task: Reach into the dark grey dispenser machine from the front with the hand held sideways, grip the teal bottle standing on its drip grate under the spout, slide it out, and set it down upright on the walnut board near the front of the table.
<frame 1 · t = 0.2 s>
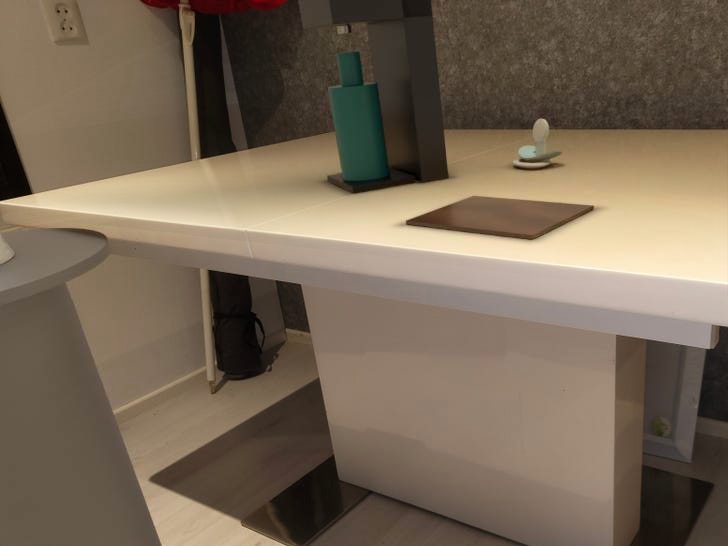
machine: (367, 182, 96), on the table
bottle: (366, 176, 95), point 1 cm above the table, touching machine
pacifier: (535, 167, 97), on the table
board: (499, 216, 72), on the table
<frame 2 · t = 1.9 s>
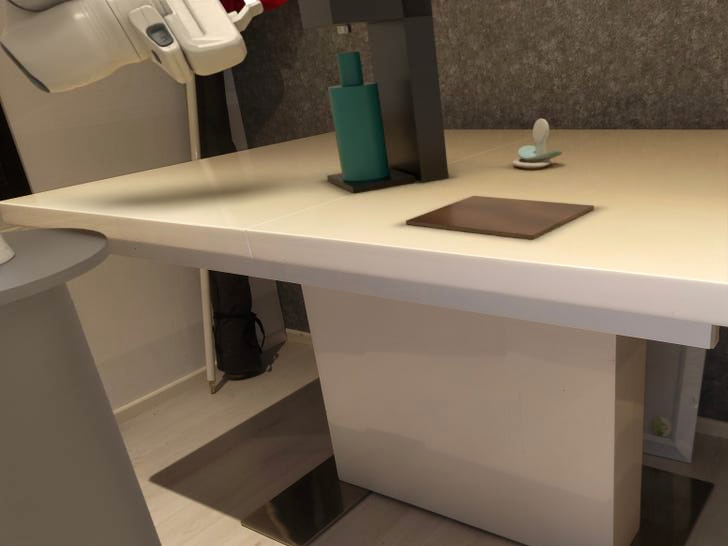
nothing on the table moved.
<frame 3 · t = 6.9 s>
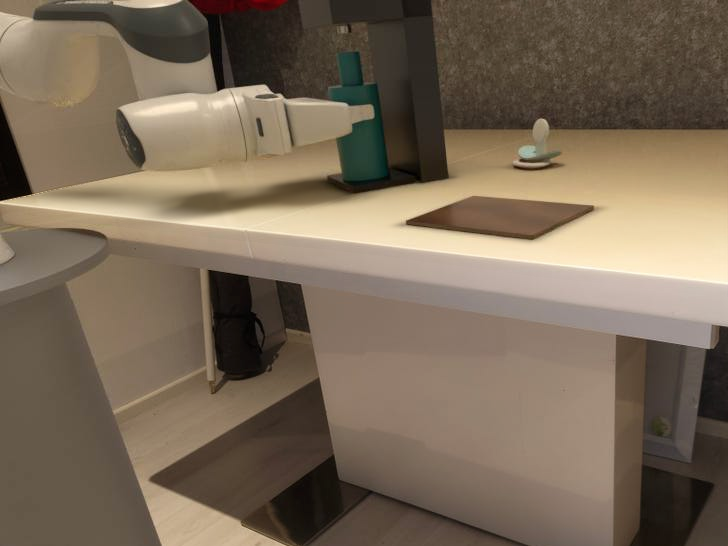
hand: (362, 109, 92), 10 cm above the table, tool horizontal, fingers closed on bottle, 6 cm apart
bottle: (366, 176, 95), point 1 cm above the table, touching gripper, machine
everything else where it was.
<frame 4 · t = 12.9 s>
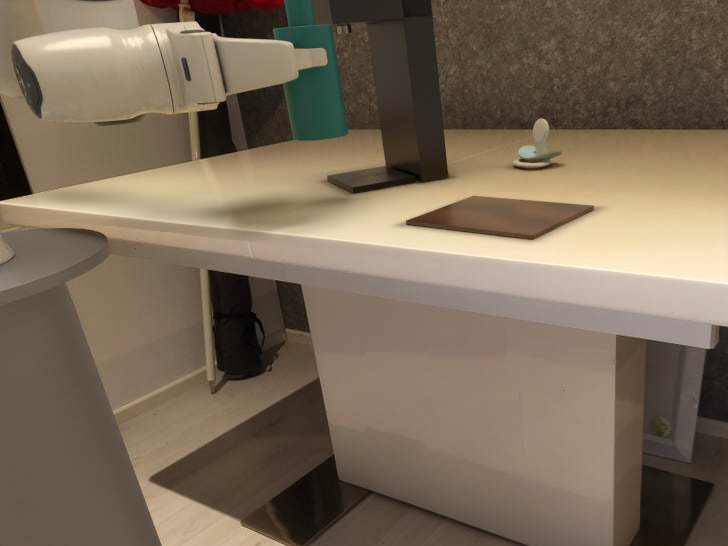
hand: (315, 56, 79), 17 cm above the table, tool horizontal, fingers closed on bottle, 6 cm apart
bottle: (320, 136, 82), point 8 cm above the table, touching gripper
everything else where it was.
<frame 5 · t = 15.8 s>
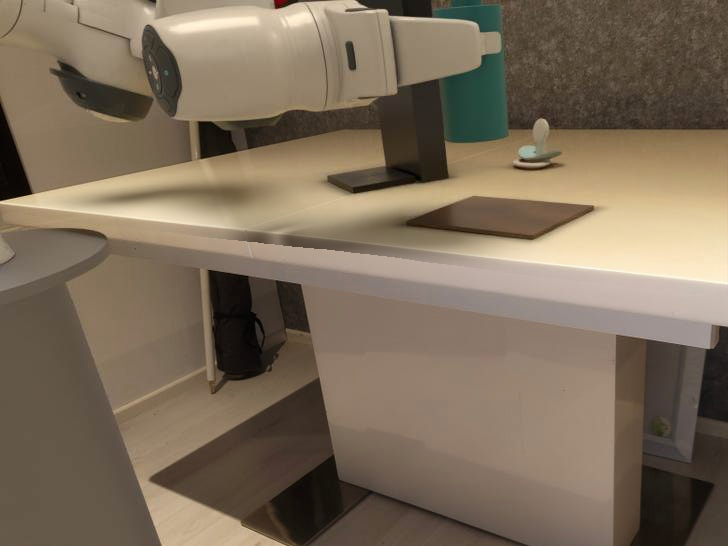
hand: (477, 43, 66), 17 cm above the table, tool horizontal, fingers closed on bottle, 6 cm apart
bottle: (476, 137, 70), point 8 cm above the table, touching gripper
everything else where it was.
when the fingers open (9 cm above the table, at t = 18.7 s): bottle stays where it is, resting on board.
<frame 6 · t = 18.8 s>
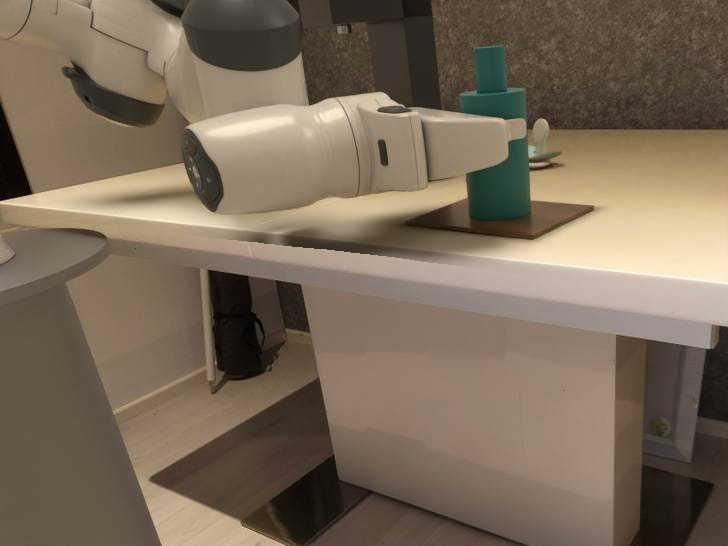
hand: (501, 124, 68), 9 cm above the table, tool horizontal, fingers open, 7 cm apart
bottle: (500, 212, 72), resting on board
everything else where it was.
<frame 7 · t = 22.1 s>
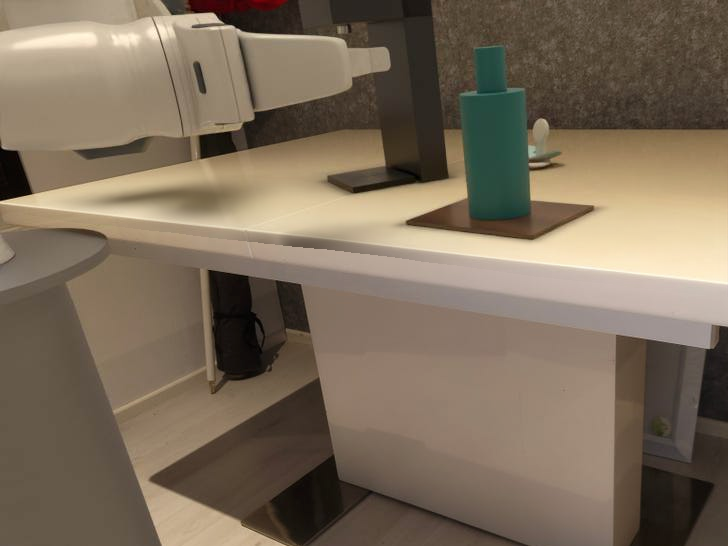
hand: (368, 59, 60), 16 cm above the table, tool horizontal, fingers open, 8 cm apart
nothing on the table moved.
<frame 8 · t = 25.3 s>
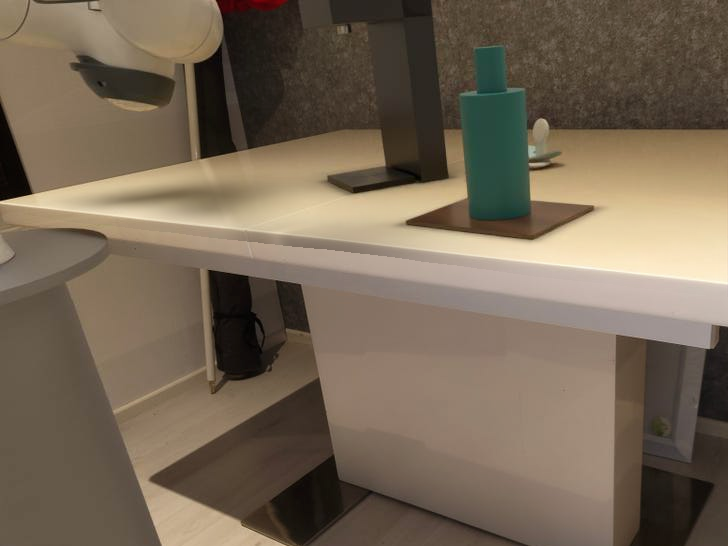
nothing on the table moved.
at the end: bottle inside the target area on the board (0.3 cm from its centre), point 0.4 cm above the board's base; bottle tilted 0°; the gripper is holding nothing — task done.
